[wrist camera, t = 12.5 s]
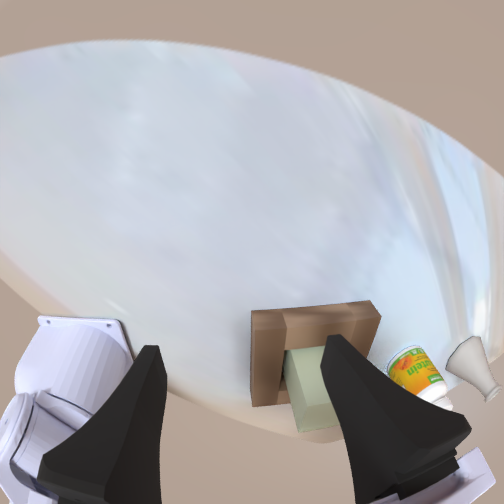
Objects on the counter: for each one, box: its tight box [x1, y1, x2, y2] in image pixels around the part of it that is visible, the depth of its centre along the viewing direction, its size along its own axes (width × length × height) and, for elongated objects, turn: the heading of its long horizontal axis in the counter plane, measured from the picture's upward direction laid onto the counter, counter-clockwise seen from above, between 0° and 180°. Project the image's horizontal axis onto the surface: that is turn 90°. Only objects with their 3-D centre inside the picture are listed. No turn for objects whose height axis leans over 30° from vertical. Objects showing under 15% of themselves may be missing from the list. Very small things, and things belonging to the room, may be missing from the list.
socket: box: [250, 300, 382, 407], centre depth 25 cm, size 11×11×2 cm
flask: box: [446, 336, 502, 402], centre depth 28 cm, size 7×7×10 cm
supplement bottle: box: [387, 346, 453, 411], centre depth 26 cm, size 5×5×10 cm
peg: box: [282, 346, 340, 433], centre depth 23 cm, size 4×4×8 cm
